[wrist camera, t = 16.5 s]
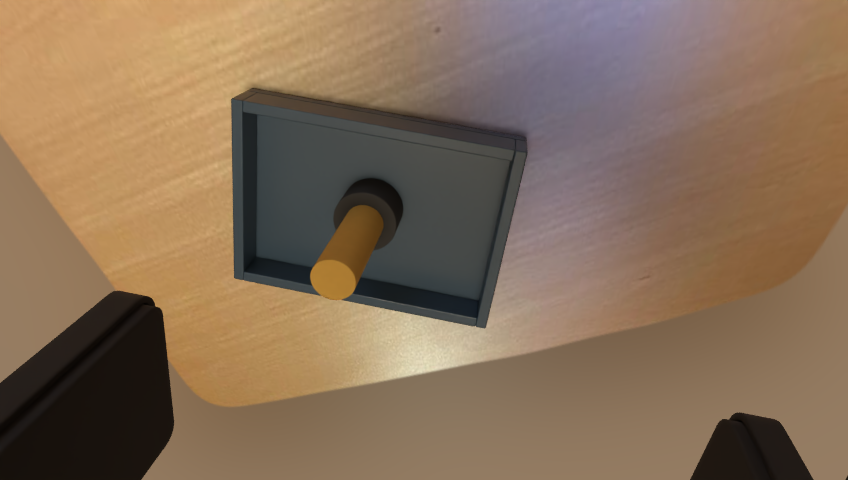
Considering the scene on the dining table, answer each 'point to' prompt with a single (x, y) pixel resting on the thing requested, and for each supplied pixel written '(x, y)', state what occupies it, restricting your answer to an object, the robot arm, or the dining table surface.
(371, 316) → the dining table surface
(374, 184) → the plug
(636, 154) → the dining table surface
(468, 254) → the basin tray
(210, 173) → the dining table surface
